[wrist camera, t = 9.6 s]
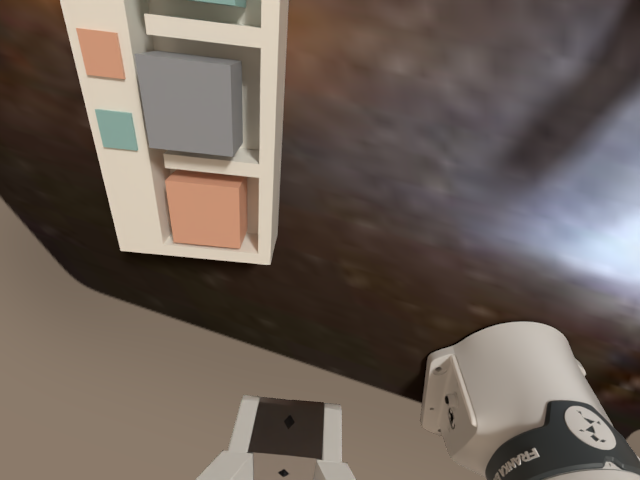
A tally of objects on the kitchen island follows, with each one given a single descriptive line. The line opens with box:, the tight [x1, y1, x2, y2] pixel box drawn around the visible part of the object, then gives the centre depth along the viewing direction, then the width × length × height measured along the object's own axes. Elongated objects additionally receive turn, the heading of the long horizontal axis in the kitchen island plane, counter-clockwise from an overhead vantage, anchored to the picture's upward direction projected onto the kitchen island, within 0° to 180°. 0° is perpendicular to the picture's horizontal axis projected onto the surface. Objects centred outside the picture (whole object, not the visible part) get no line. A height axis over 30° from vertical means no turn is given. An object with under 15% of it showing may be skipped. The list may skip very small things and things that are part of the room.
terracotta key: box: [165, 169, 248, 249], centre depth 27 cm, size 5×5×3 cm
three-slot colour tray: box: [60, 0, 289, 265], centre depth 24 cm, size 24×12×5 cm, turn 174°
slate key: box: [135, 50, 243, 157], centre depth 21 cm, size 5×5×3 cm
